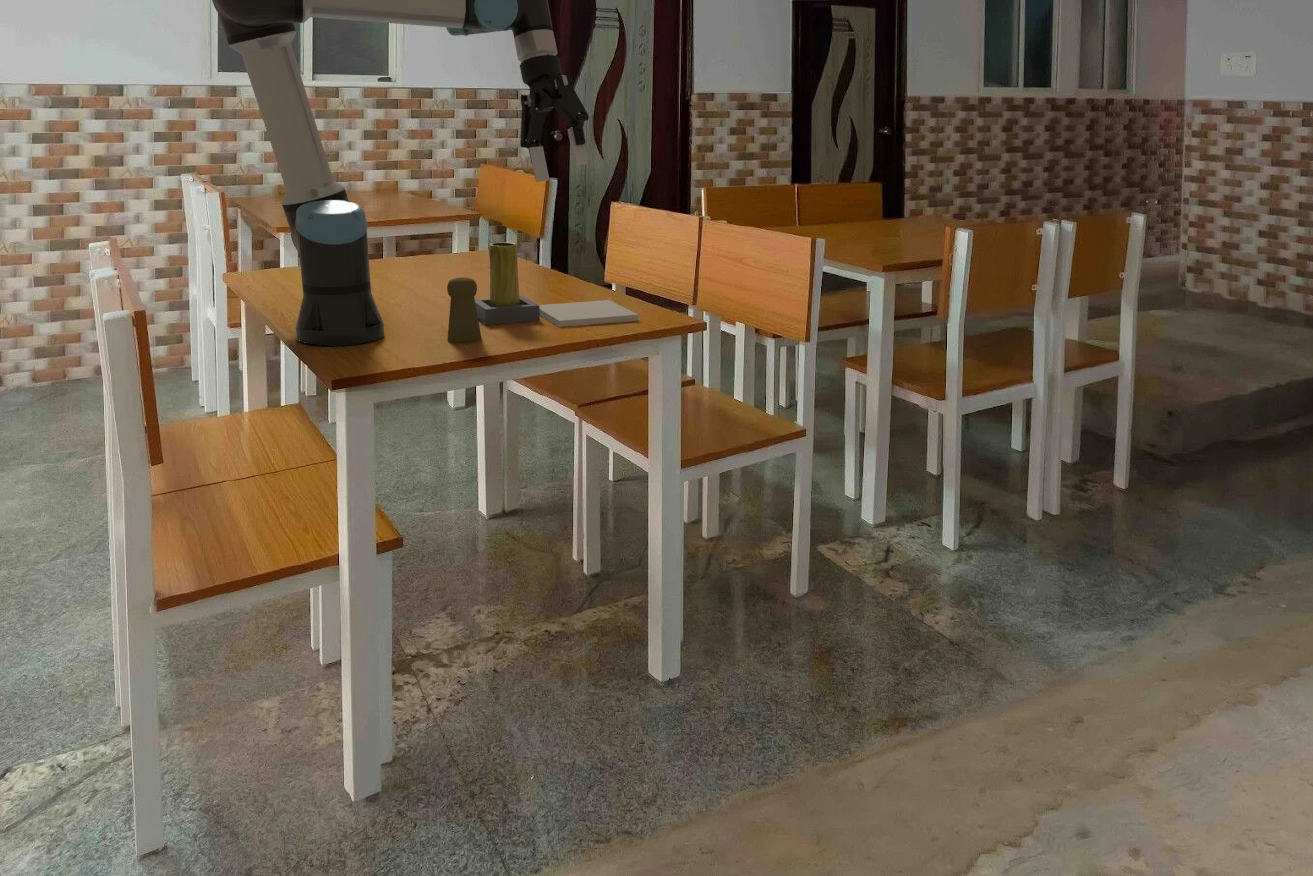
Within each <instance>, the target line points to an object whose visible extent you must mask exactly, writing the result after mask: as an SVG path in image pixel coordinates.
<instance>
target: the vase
mask: <svg viewBox="0 0 1313 876" xmlns="http://www.w3.org/2000/svg"><path fill="white" fill-rule="evenodd" d="M488 255H489V298H490V307H504V306H517V305H520V299H519V296H520V289H519V288H520V287H519V285H520V284H519V272H518V271H519V270H518V269H519V268H518V245H517V243H515V242H508V241H507V242H506V241H504V242H503V241H501V242H493V243H492V242H491V243H489V244H488Z"/></svg>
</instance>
